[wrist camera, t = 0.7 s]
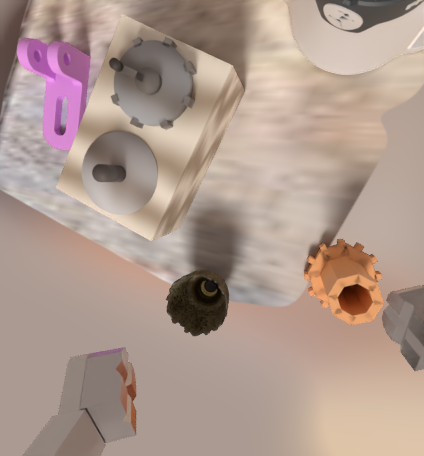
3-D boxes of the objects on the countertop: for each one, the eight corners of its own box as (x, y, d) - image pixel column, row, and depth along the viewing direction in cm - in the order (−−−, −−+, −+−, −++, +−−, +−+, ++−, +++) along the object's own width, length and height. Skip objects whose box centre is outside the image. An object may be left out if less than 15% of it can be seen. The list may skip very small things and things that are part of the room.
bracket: (55, 53, 49) (18, 33, 42) (91, 57, 48) (58, 37, 41) (47, 146, 51) (11, 141, 44) (81, 152, 50) (49, 148, 43)
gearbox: (157, 49, 46) (101, -7, 32) (245, 91, 44) (225, 50, 30) (101, 186, 50) (30, 188, 36) (179, 229, 48) (136, 247, 35)
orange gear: (326, 226, 44) (336, 239, 34) (393, 260, 43) (423, 284, 33) (291, 286, 46) (292, 314, 36) (354, 320, 45) (373, 359, 35)
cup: (174, 286, 49) (153, 306, 42) (206, 249, 48) (191, 262, 40) (213, 322, 49) (199, 348, 41) (248, 285, 47) (240, 305, 39)
